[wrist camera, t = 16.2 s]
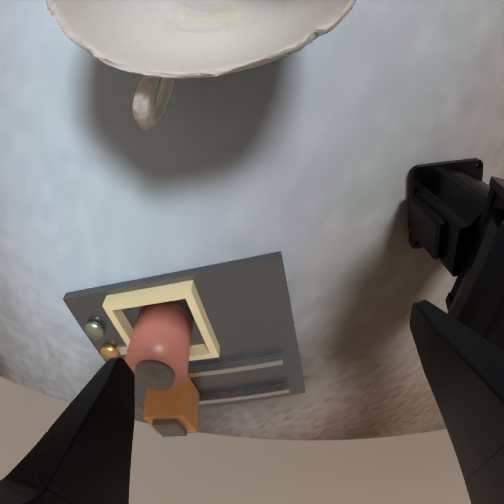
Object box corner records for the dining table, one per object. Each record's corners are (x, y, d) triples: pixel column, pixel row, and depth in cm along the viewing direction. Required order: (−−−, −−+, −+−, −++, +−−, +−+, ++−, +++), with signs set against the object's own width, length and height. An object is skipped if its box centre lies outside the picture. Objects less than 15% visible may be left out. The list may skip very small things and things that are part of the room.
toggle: (187, 374, 28) (183, 421, 24) (199, 394, 30) (196, 437, 26) (149, 377, 29) (141, 422, 24) (163, 396, 31) (157, 438, 26)
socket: (192, 279, 23) (190, 290, 22) (219, 346, 27) (219, 357, 26) (106, 295, 23) (102, 305, 22) (143, 355, 27) (140, 365, 26)
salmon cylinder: (200, 337, 26) (195, 393, 21) (151, 344, 26) (139, 397, 22) (181, 296, 24) (171, 355, 19) (128, 305, 24) (110, 361, 19)
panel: (280, 251, 23) (283, 264, 21) (304, 386, 32) (306, 398, 30) (66, 293, 24) (59, 305, 23) (145, 404, 33) (143, 415, 32)
